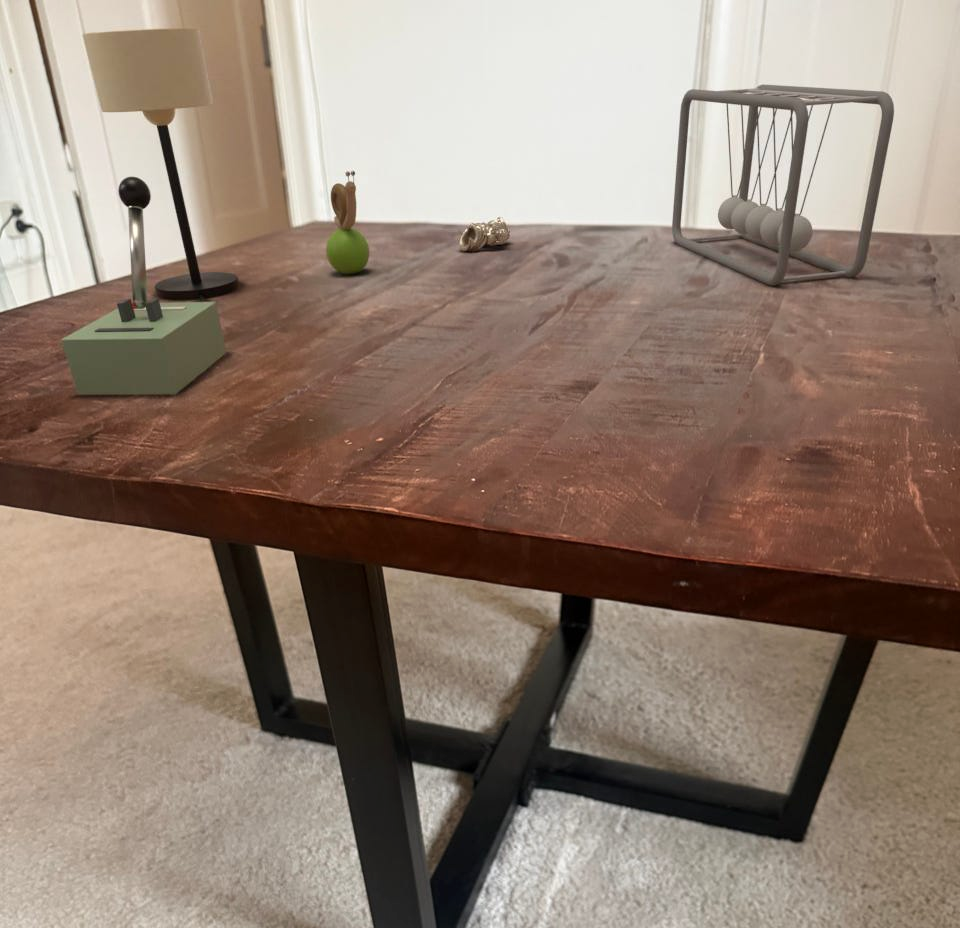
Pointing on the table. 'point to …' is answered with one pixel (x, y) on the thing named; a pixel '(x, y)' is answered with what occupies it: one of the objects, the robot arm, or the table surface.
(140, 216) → the toggle lever
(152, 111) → the desk lamp
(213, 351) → the switch box
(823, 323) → the table surface
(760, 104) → the newton's cradle
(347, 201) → the snail figurine
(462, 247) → the ornament
